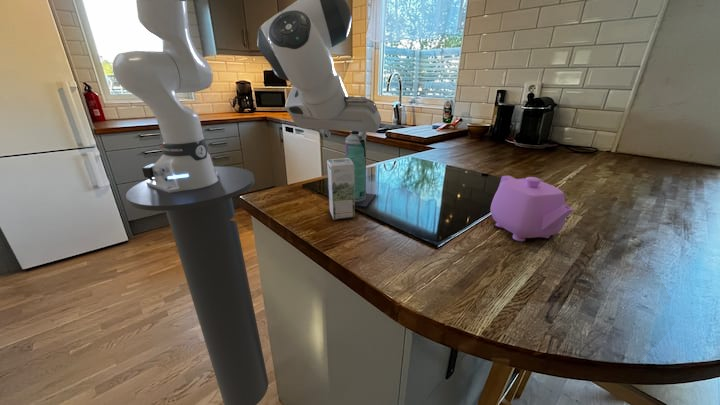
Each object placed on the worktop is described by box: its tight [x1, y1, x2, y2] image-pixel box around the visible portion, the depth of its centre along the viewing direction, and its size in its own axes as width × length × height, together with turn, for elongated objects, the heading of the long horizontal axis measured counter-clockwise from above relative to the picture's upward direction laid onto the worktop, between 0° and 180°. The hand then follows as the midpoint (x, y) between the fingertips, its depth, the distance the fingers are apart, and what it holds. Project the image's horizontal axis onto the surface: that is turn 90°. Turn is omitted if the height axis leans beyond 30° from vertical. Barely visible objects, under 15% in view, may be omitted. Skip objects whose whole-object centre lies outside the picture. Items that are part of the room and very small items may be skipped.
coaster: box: [355, 193, 377, 209], centre depth 86 cm, size 9×9×1 cm
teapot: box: [489, 174, 574, 242], centre depth 66 cm, size 20×12×13 cm, turn 12°
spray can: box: [345, 131, 367, 202], centre depth 82 cm, size 6×6×20 cm
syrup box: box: [326, 157, 356, 221], centre depth 75 cm, size 6×6×14 cm
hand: (345, 136), depth 73 cm, fingers open, 8 cm apart
